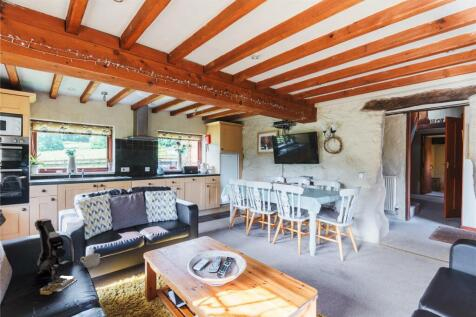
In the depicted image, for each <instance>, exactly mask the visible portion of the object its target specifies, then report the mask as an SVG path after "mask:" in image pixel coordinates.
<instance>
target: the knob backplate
mask: <svg viewBox="0 0 476 317" xmlns="http://www.w3.org/2000/svg"><path fill="white" fill-rule="evenodd" d="M76 280H77V279H75V276H71V275H69V276H68V275H61V276H57V279H55V280H51V281H50V282H49V283H47V285H45V286H43V287H42V288H40V289H39V294H40V295H46V296H47V295H48V296H50V295H51V294H53V292H55V293H61V292H62V291H64V290H65V289H66V288H68V287H70V286H71V285H73V283H75V282H77V281H76ZM49 294H50V295H49Z"/></svg>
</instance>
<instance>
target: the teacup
mask: <svg viewBox="0 0 476 317" xmlns="http://www.w3.org/2000/svg"><path fill="white" fill-rule="evenodd" d="M100 257H101V254H100V253H91V254H87V255H86V256H81V257H80V258H79V261H80V263H82V264H83V266H84V268H87V269H93V268H95V267H97V266H98V265H99V264H100V263H101V262H100V261H101V259H100Z"/></svg>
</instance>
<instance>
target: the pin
mask: <svg viewBox="0 0 476 317" xmlns="http://www.w3.org/2000/svg"><path fill="white" fill-rule="evenodd" d="M56 266H57V265H54V266H52V267H51V269H52V276H51V281H53V280H55V279H57V278H58V276H56V273H55V269H54V268H55V267H56Z"/></svg>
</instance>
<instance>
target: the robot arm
mask: <svg viewBox="0 0 476 317" xmlns="http://www.w3.org/2000/svg"><path fill="white" fill-rule="evenodd" d="M53 225H54V224H53V223H52V219H49V218H47V217H46V218H42V219H37V220H36V221H34V227H35V229H36V231H38V232H39V241H40V248H41V251H40V254H39V255H38V256H39V257H38V259H37V261H36V263H37V266H38V268H39V272H37V274H38V275H47V274H50V276H51V277H52V269H51V267H52V266H54V265H57V266H56V267H55V268H54V269H55V273H56V276H57V277H59V274H60V272H61V270H62V269H65V268H67V267H69V266H70V265H71V261H70V260H64V261H62V259H61V258H63V257H64V256H65V255H66V250H65V249H64V248H63V246H64V245H65V244H64V243H65V241H64V238H63V237H62V235H61V234H60V233H59V232H57V231H56V230H55V228H54V226H53ZM61 261H62V262H61Z"/></svg>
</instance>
